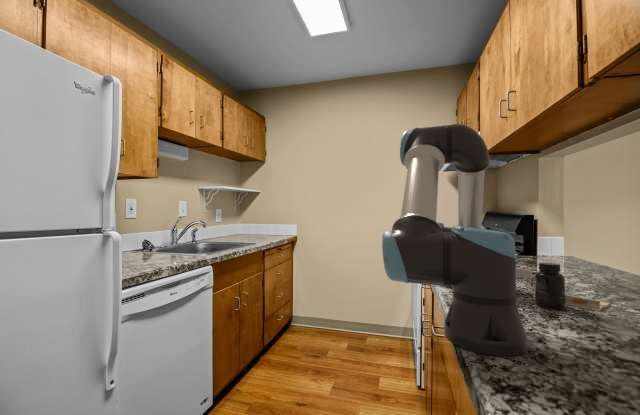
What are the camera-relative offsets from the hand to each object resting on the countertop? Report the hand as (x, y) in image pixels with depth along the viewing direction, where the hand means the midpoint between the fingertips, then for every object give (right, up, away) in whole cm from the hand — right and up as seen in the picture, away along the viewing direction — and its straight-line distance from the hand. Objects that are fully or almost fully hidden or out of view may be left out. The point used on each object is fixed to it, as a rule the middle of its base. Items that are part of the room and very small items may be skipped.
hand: (521, 277), depth 92 cm
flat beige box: (+15, -7, -4) cm, 17 cm away
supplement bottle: (+4, -7, -6) cm, 10 cm away
